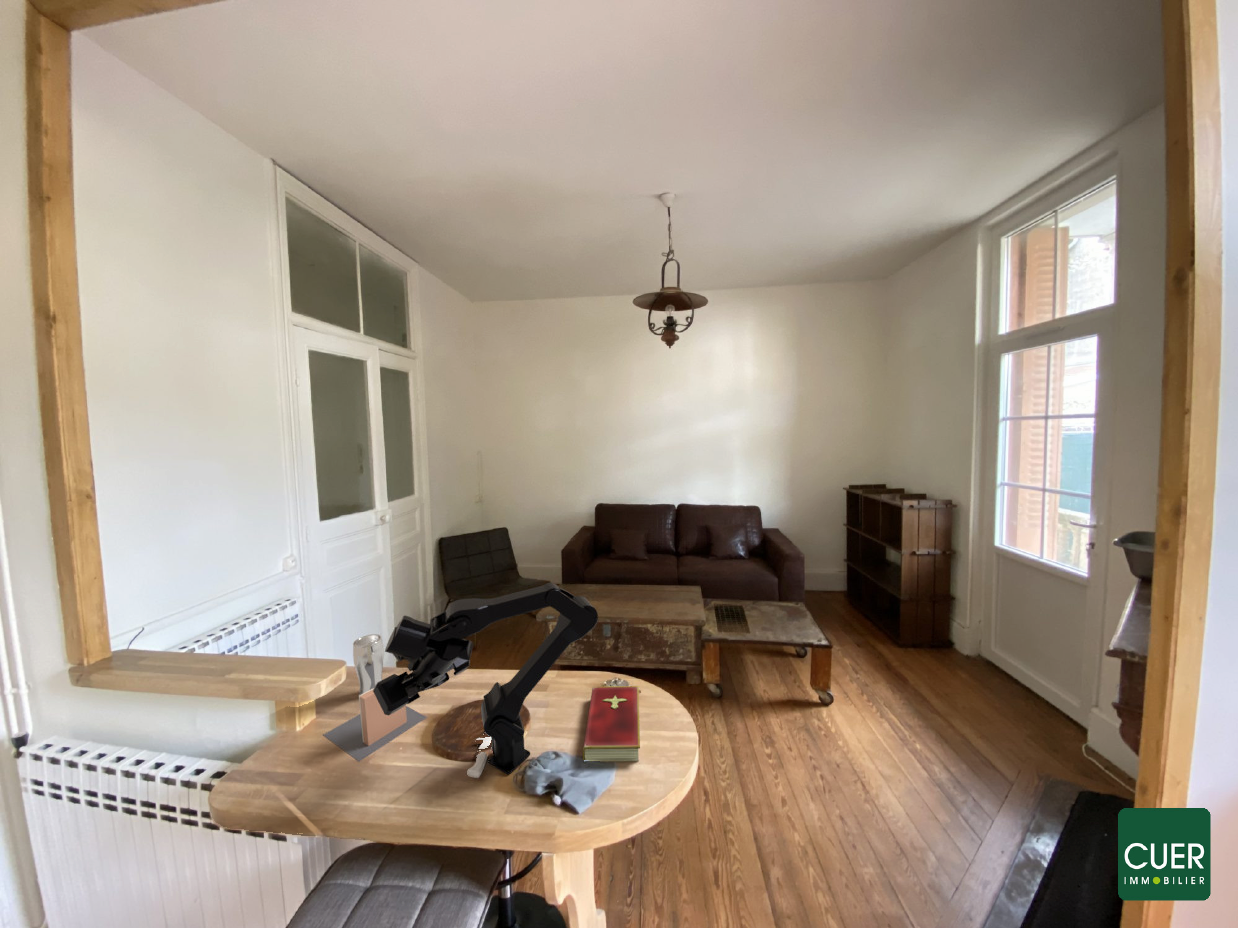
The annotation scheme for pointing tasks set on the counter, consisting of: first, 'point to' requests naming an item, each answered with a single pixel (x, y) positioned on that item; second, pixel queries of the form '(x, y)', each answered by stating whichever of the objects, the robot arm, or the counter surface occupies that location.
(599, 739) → the hardcover book
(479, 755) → the knife
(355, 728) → the mat
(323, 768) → the counter surface
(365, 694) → the tile
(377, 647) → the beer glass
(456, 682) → the counter surface
